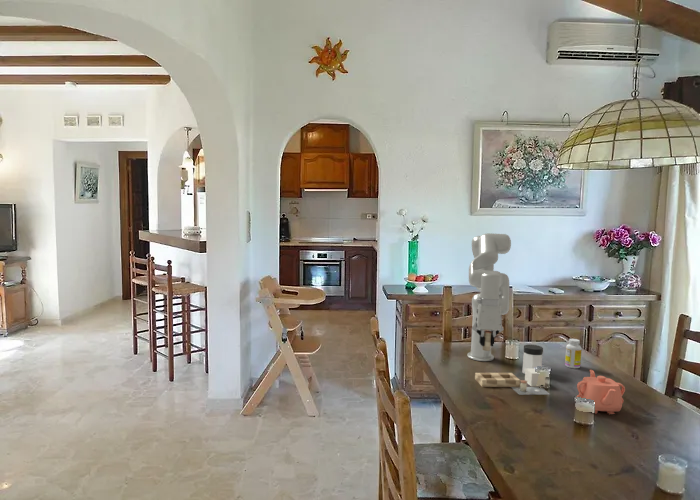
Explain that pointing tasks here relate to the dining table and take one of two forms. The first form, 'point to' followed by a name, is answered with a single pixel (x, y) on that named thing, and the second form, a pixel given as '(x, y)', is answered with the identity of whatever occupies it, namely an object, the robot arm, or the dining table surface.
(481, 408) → the dining table surface
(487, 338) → the peg
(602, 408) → the teapot
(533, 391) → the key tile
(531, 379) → the white cube
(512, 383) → the peg board
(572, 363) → the supplement bottle
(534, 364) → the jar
